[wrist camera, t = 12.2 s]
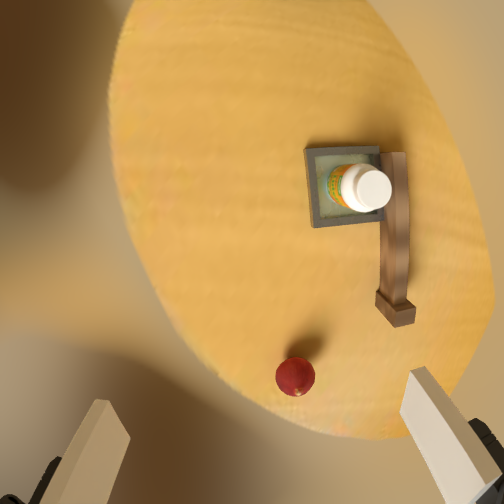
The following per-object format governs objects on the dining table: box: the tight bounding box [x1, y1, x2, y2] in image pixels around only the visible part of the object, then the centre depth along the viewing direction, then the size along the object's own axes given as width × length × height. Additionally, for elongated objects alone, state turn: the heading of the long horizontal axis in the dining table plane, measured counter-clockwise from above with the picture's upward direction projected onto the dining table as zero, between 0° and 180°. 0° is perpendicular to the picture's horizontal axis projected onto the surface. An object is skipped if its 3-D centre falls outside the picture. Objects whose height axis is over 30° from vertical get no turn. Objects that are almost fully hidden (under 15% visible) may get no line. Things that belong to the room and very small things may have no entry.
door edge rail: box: [375, 152, 416, 328], centre depth 34 cm, size 22×3×7 cm, turn 7°
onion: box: [276, 357, 315, 396], centre depth 39 cm, size 6×6×8 cm
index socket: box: [304, 146, 384, 228], centre depth 35 cm, size 10×10×2 cm
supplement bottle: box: [326, 164, 392, 212], centre depth 31 cm, size 5×5×10 cm
